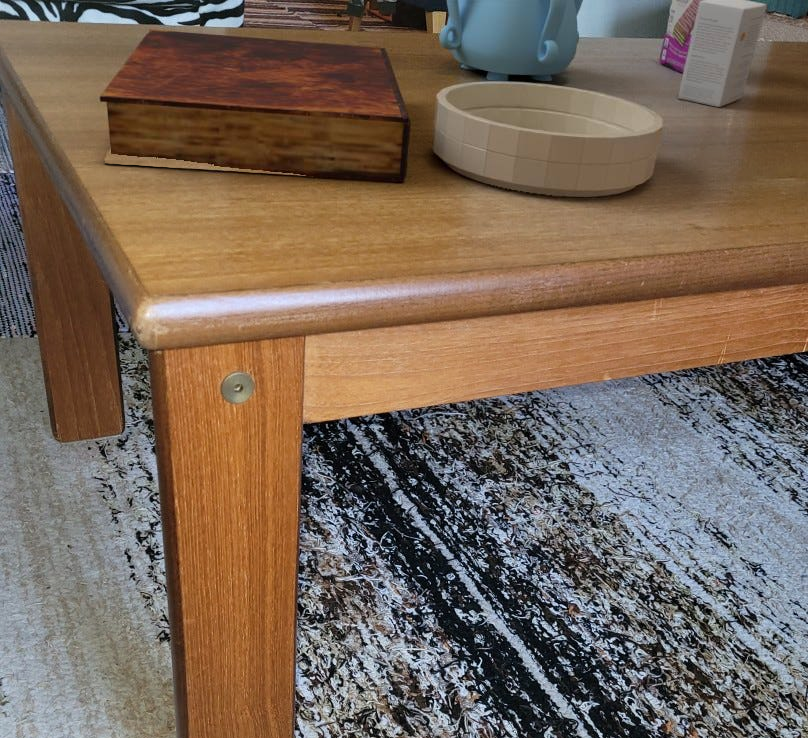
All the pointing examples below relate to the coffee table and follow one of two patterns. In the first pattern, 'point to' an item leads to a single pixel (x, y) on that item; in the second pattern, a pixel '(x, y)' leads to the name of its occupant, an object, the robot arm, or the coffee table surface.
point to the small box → (721, 51)
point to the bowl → (545, 138)
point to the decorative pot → (512, 36)
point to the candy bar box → (679, 33)
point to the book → (261, 106)
